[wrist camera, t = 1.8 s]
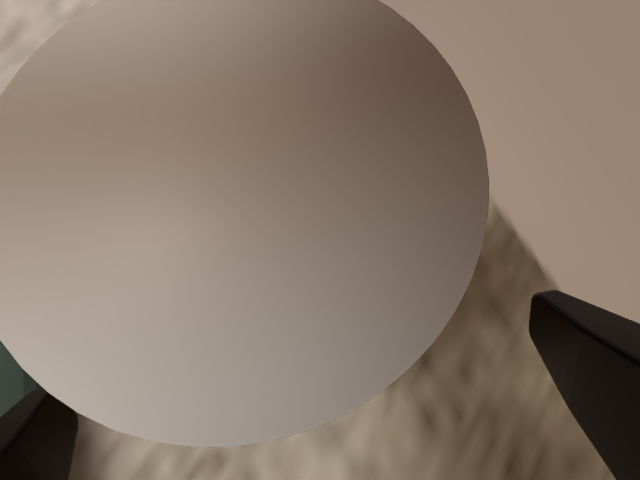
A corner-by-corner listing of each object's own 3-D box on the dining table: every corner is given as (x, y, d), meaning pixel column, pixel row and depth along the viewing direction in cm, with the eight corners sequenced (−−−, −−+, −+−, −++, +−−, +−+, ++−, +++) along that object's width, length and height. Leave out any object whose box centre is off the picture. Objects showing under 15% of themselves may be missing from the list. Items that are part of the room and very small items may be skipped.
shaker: (377, 380, 17) (564, 379, 4) (244, 408, 17) (-44, 506, 4) (349, 253, 19) (414, -68, 5) (226, 277, 18) (-29, 3, 5)
